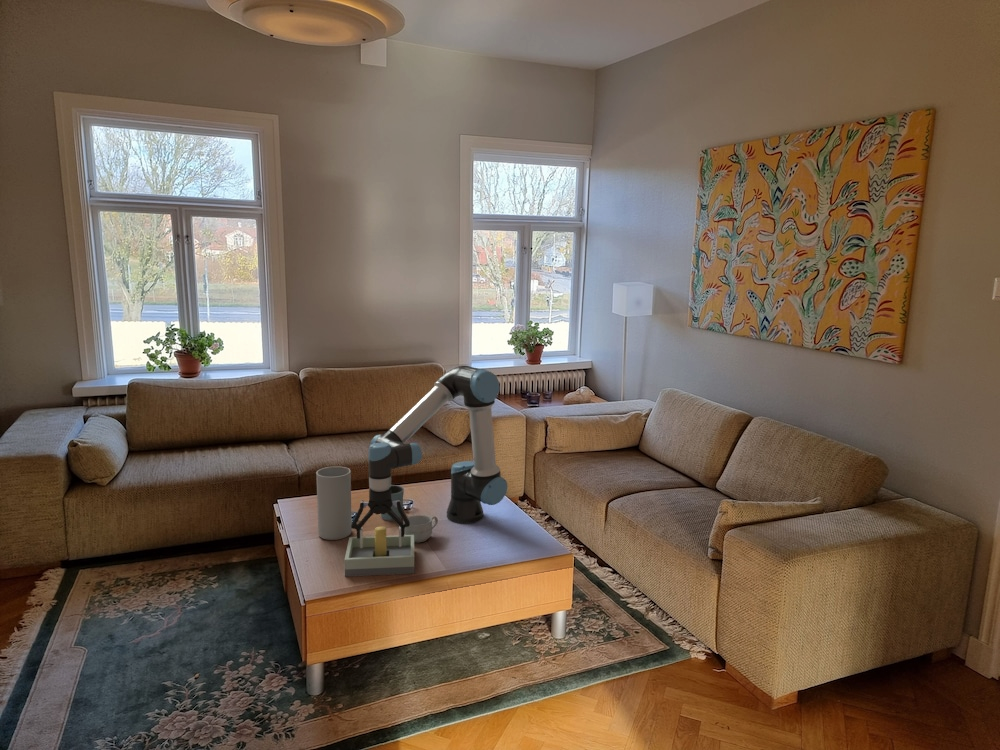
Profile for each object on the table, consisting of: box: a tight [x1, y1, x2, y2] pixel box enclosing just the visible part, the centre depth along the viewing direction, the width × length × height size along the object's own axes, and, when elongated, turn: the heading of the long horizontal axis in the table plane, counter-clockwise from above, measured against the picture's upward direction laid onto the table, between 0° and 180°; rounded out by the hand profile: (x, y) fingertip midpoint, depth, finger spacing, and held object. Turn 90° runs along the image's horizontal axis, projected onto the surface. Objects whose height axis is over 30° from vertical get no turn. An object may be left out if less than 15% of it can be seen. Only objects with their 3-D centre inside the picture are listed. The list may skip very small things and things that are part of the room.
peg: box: [374, 526, 387, 557], centre depth 233 cm, size 4×4×12 cm
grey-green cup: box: [380, 484, 405, 522], centre depth 272 cm, size 10×10×12 cm
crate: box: [344, 534, 415, 577], centre depth 232 cm, size 23×18×6 cm
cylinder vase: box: [315, 466, 353, 541], centre depth 253 cm, size 12×12×25 cm
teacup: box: [403, 514, 439, 543], centre depth 252 cm, size 14×11×8 cm
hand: (381, 545), depth 233 cm, fingers open, 13 cm apart
